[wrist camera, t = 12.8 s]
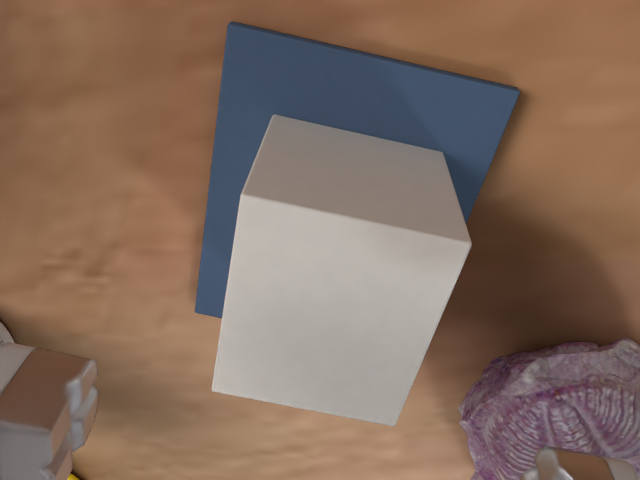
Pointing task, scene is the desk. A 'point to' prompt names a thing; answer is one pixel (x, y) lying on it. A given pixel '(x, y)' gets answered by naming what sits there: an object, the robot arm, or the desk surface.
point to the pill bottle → (4, 335)
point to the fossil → (554, 407)
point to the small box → (338, 271)
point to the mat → (337, 121)
